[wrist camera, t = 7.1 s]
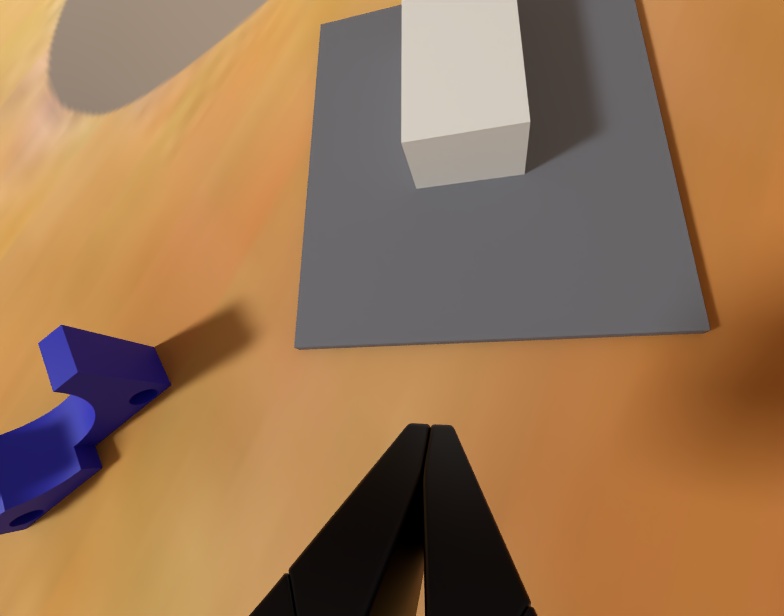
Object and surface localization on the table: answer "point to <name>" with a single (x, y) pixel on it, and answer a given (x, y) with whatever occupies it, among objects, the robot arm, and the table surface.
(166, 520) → the table surface
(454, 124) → the cream block
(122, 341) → the cable clip
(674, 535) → the table surface
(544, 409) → the table surface
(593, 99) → the rubber mat
